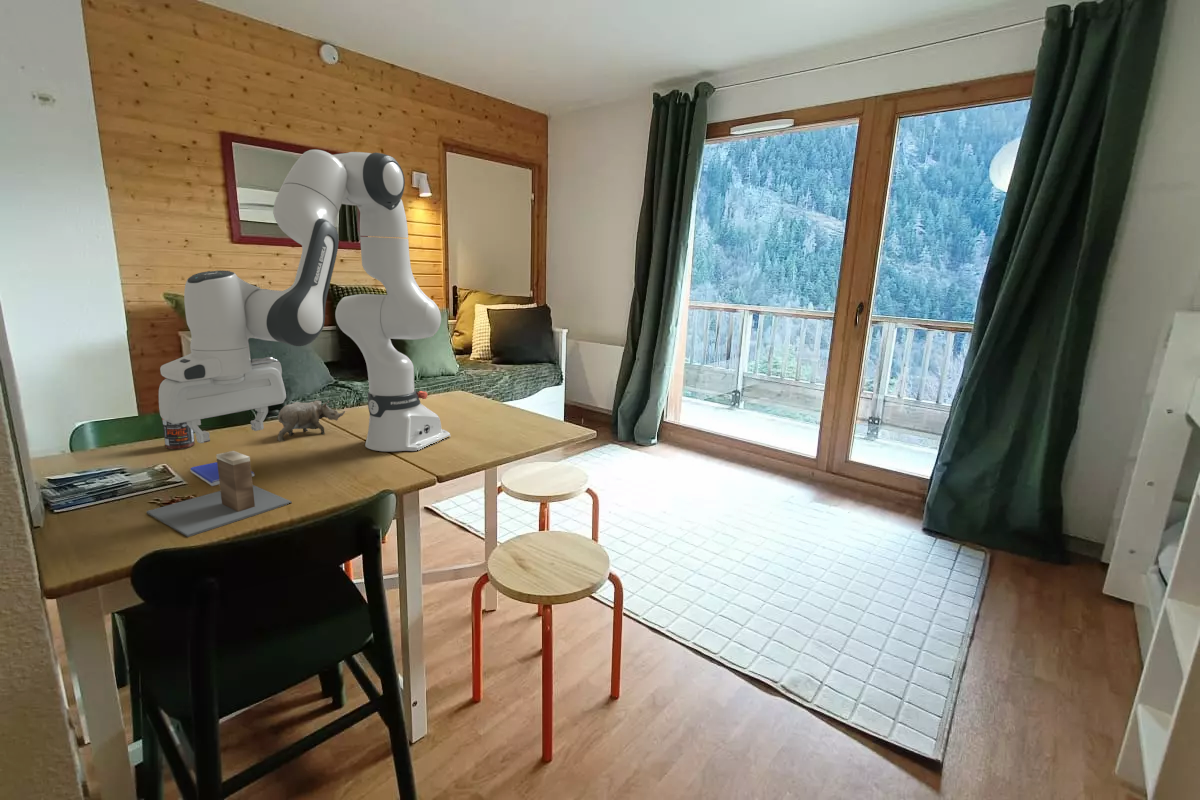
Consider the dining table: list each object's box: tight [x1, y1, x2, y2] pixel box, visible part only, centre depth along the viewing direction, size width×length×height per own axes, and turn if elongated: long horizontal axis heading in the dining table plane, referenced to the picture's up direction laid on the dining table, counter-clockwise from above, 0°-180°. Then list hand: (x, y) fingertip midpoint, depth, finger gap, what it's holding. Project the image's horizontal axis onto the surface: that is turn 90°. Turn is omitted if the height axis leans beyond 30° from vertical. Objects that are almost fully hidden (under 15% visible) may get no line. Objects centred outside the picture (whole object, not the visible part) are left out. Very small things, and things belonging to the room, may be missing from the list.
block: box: [215, 450, 255, 512], centre depth 107 cm, size 3×6×10 cm, turn 58°
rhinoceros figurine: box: [276, 400, 346, 442], centre depth 154 cm, size 8×14×15 cm
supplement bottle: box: [161, 417, 196, 450], centre depth 140 cm, size 6×6×11 cm
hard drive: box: [189, 461, 255, 487], centre depth 125 cm, size 2×8×12 cm
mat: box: [146, 484, 292, 538], centre depth 108 cm, size 18×16×1 cm
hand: (231, 435), depth 106 cm, fingers open, 8 cm apart
